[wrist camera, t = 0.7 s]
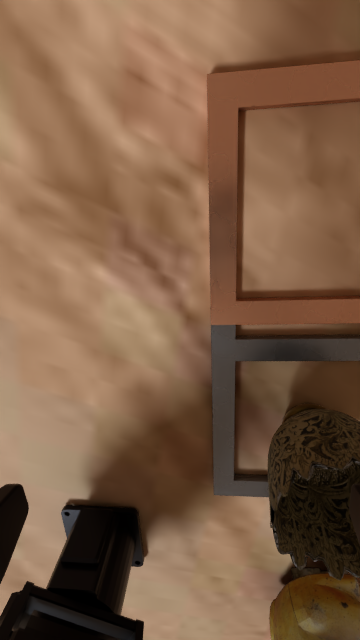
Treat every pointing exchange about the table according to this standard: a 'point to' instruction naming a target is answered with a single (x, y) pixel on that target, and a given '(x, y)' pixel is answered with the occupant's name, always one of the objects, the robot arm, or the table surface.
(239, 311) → the rectangular frame
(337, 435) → the dark ridged bell shape
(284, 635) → the decorative figurine
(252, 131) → the table surface
